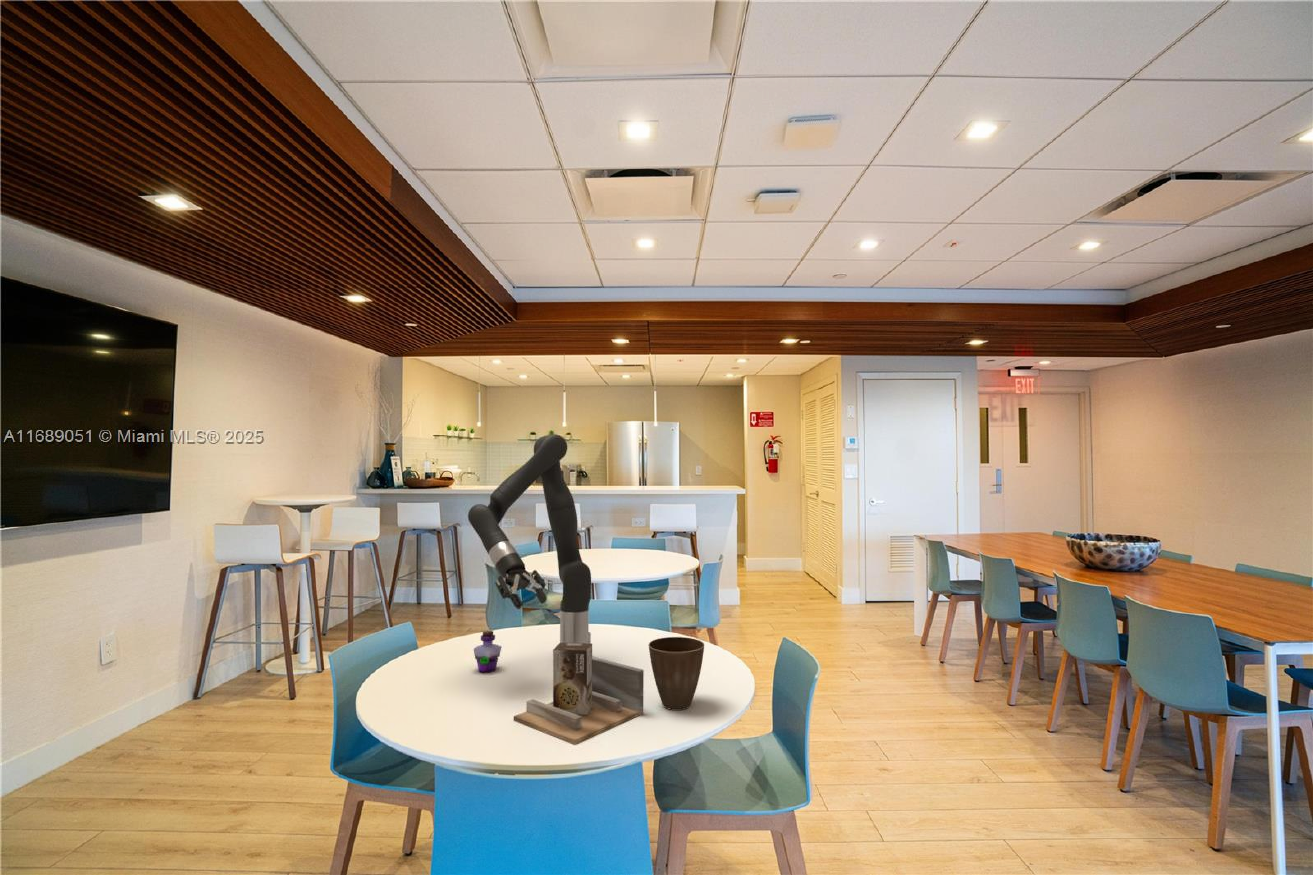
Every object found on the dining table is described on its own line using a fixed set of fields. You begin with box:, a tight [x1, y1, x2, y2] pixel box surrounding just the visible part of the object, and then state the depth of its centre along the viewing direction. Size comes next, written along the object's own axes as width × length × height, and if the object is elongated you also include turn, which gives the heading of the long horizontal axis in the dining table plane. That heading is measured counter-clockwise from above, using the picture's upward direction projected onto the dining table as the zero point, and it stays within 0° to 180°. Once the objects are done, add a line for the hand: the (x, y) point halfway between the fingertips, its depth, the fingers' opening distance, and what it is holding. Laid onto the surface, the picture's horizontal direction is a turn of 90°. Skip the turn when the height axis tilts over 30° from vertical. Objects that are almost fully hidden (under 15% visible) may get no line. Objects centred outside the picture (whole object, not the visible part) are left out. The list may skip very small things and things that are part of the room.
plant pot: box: [648, 636, 705, 710], centre depth 164 cm, size 15×15×16 cm
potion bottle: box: [473, 630, 502, 674], centre depth 193 cm, size 9×9×12 cm
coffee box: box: [552, 642, 593, 715], centre depth 157 cm, size 9×6×16 cm
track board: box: [513, 655, 644, 745], centre depth 155 cm, size 24×22×11 cm
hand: (532, 604), depth 172 cm, fingers open, 8 cm apart
